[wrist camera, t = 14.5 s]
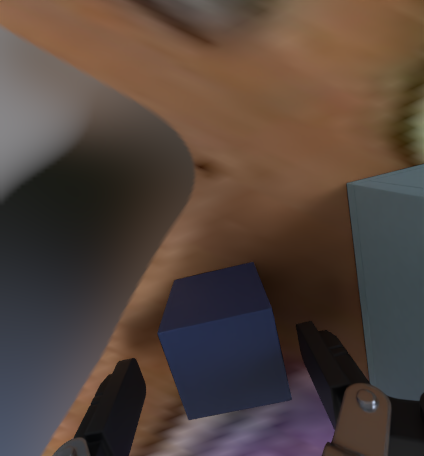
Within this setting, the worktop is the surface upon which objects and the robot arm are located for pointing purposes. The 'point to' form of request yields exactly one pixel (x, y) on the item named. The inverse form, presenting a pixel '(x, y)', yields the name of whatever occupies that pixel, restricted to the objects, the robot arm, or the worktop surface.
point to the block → (223, 343)
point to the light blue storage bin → (391, 277)
